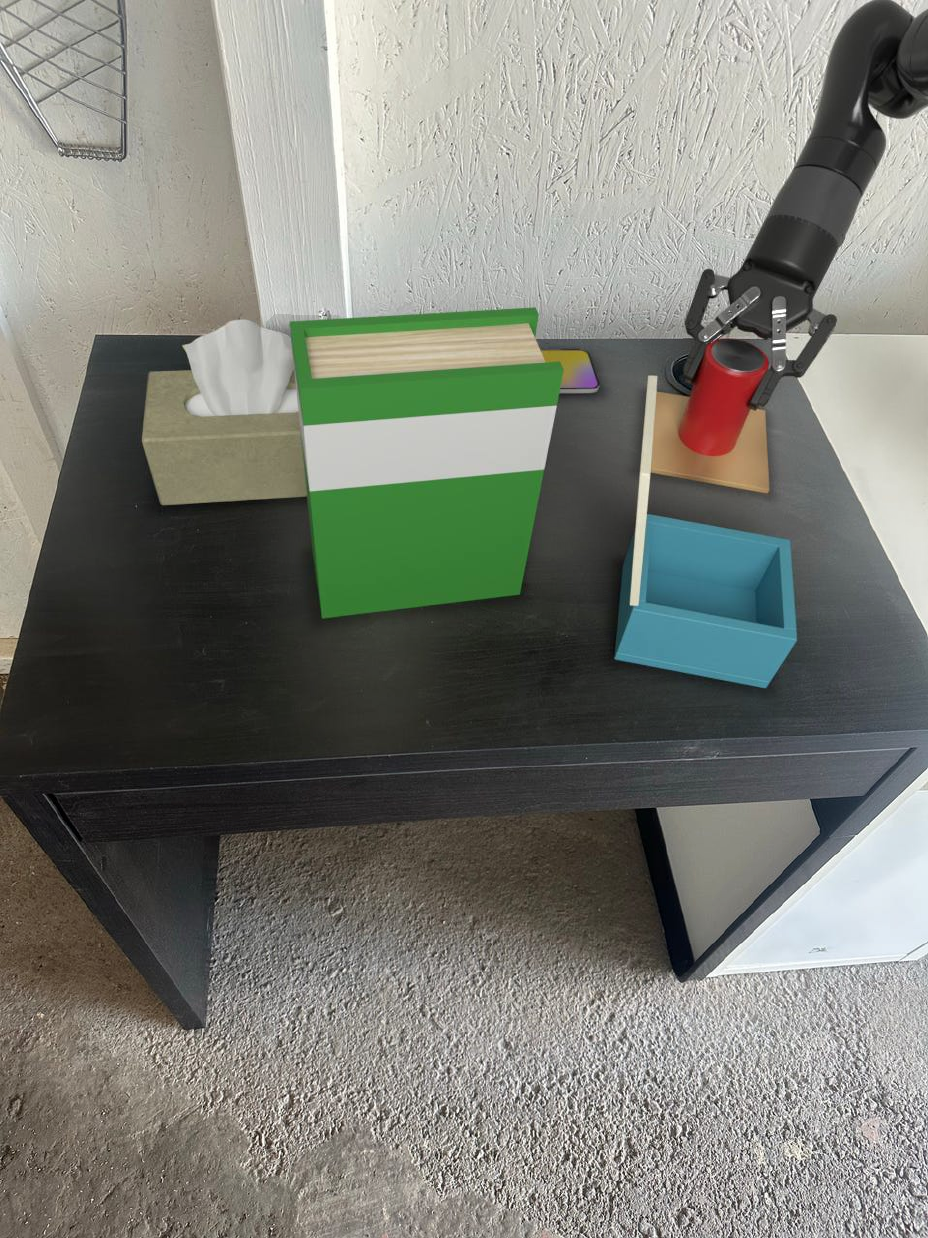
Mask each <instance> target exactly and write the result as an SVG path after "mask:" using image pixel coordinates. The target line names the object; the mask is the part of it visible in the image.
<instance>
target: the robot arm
mask: <svg viewBox="0 0 928 1238" xmlns="http://www.w3.org/2000/svg"><path fill="white" fill-rule="evenodd" d="M870 107H871V108H872V109H874V110H875V111H876V112H877V113H879V114H881V115H883V116H885V117H888V118H891V119H896V120H906V119H909V118H912V117H913V116H915V115H917V114H918V113H920V112H921V111H923V110H924V109H926V108H928V8H926V9H925V10H923V11H921V13H919V14H918V15H917V16H916V17H915V16H914V15H913V14H911V13H910V12H909V11H907V10H906V9H905V8H904V7H903V6H902V5H900V4H899V3H898V2H896V1H895V0H870V1H868V2H866V3H865V4H863V5H862V6H860V7H859V8H858V9H856V10H855V11H854V12H853V13H851V15H850V16H849V18H848V19H846V21H845V23H843V25H842V26H841V28H840V30H839V32H838V33H837V35H836V38H835V39H834V42H833V44H832V47H831V49H830V52H829V56H828V58H827V61H826V66H825V70H824V75H823V79H822V85H821V90H820V94H819V99H818V103H817V107H816V111H815V115H814V119H813V123H812V128H811V131H810V133H809V135H808V137H807V140H806V142H805V143H804V146H803V148H802V149H801V152H800V153H799V156H798V158H797V160H796V162H795V164H794V166H793V168H792V170H791V172H790V174H789V176H788V177H787V179H786V181H785V182H784V183H783V185H782V186H781V188H780V190H779V191H778V193H777V195H776V196H775V198H774V201H773V203H772V205H771V207H770V209H769V210H768V213H767V214H766V216H765V218H764V220H763V222H762V224H761V226H760V229H759V231H758V232H757V235H756V237H755V239H754V241H753V243H752V245H751V247H750V248H749V251H748V253H747V255H746V257H745V259H744V261H743V262H742V265H741V267H740V268H739V269H738V271H736V273H734V274H733V275H732V276H729V277H728V276H724V275H719V274H715V271H714V270H713V269H712V268H706V269H704V270H703V271H702V273H701V276H700V277H699V281H698V284H697V286H696V289H695V292H694V295H693V297H692V301H691V303H690V306H689V309H688V312H687V314H686V317H685V321H684V328H685V332H686V335H688V336H690V337H691V338H693V339H694V344H693V346H692V348H691V350H690V353H689V354H688V356H687V359H686V361H685V362H684V364H683V368H682V372H683V375H684V376H685V377H684V380H685V383H687V384H689V385H694V382H695V379H696V376H697V374H698V371H699V368H700V365H701V362H702V359H703V356H704V353H705V350H706V348H707V346H708V345H709V344H710V343H712V342H713V341H715V340H719V339H722V337H723V336H727V335H728V334H729V333H730V332H732V331H733V330H734V329H735V328H736V327H737V330H739V331H741V332H744V333H753V334H754V335H756V336H757V337H758V338H760V339H763V340H765V341H768V340H771V366H770V367H769V368H768V369H767V371H766V373H765V375H764V376H763V378H762V380H761V382H760V384H759V386H758V388H757V390H756V392H755V394H754V396H753V398H752V400H751V402H750V404H749V409H752V410H754V411H756V409H759V407H761V408H764V407H766V406H767V404H769V401H770V400H771V397H772V396H773V394H774V392H775V389H776V387H777V386H778V384H779V382H780V380H781V379H782V378H785V377H794V378H795V379H800V378H803V377H804V375H805V374H806V373H807V371H808V369H809V368H810V367H811V365H812V364H813V362H814V360H815V359H816V358H817V356H818V355H819V353H820V352H821V350H822V349H823V347H824V346H825V344H826V343H827V342H828V340H829V338H830V337H831V335H832V334H833V333H834V331H835V328H836V325H837V323H838V318H837V316H836V315H835V314H832V313H829V314H824V313H822V312H821V311H819V310H817V309H815V308H814V303H813V302H814V299H815V295H816V294H817V292H818V290H819V288H820V286H821V284H822V282H823V280H824V278H825V276H826V273H827V272H828V271H829V268H830V266H831V264H832V263H833V260H834V258H835V256H836V255H837V253H838V250H839V249H840V248H841V247H842V245H843V243H844V242H845V240H846V236H847V234H848V231H849V229H850V227H851V225H852V223H853V221H854V218H855V216H856V213H857V210H858V208H859V207H858V206H859V204H860V202H861V200H862V198H863V197H864V194H865V192H866V190H867V188H868V187H869V184H870V182H871V180H872V179H873V177H874V175H875V172H876V171H877V169H878V166H879V164H880V163H881V161H882V158H883V157H884V155H885V151H886V148H887V137H886V133H885V131H884V130H883V128H882V127H881V125H880V123H879V122H878V121H877V119H876V118H875V116H874V115H873V113H872V111H871V109H870ZM722 291H727V297H728V302H729V306H727V307H726V308H725V309H724V310H722V311H721V312H720V313H718V315H717V316H716V317H715V318H714V319H713V320H712V321H711V322H709V324H707V325H706V326H704V325H702V321H703V319H704V316H705V313H706V311H707V308H708V306H709V302H710V300H711V299H712V300H713V299H716V298H717V297H719V295H720V293H721V292H722ZM806 321H808V323H809V326H808V330H807V333H808V335H809V336H810V338H809V339H808V341H807V343H806V344H805V346H804V347H803V349H802V350H801V352H800V354H799V355H798V356H797V357H796V359H787V346H786V345H787V332H789V331H790V330H792V329H794V328H796V327H797V326H799V325H801V324H803V323H804V322H806Z"/></svg>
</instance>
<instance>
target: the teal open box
mask: <svg viewBox="0 0 928 1238" xmlns="http://www.w3.org/2000/svg"><path fill="white" fill-rule="evenodd" d="M634 541H635V530H634V531H633V534H632V536H631V540H630V543H629V546H628V549H627V552H626V554H625V555H626V556H625V558H624V561H623V565H622V572H621V580H620V581H621V583H620V591H619V592H620V593H619V604H618V615H617V625H616V636H615V648H614V657H613V658H614V660H616V661H621V662H627V663H631V664H637V665H641V666H642V665H643V666H647V667H653V668H658V669H663V670H668V671H673V672H678V673H683V674H687V675H688V674H689V675H692V676H693V675H694V676H700V677H704V678H710V679H714V680H720V681H725V682H730V683H735V684H741V685H746V686H752V687H757V688H762V689H767V688H768V686H769V685H770V682H771V681H772V680H773V678H774V677H775V675H776V674H777V672H778V670H779V669H780V668H781V666H782V664H783V663H784V661H785V660H786V658H787V657H788V655H789V653H790V652H791V650H792V649H793V647H795V644H796V643H797V642H798V635H797V634H798V633H797V632H798V631H797V617H796V604H795V603H796V602H795V589H794V577H793V575H794V574H793V563H792V547H791V545H792V544H791V539H787V538H782V537H776V536H771V535H765V534H760V533H755V532H748V531H743V530H737V529H732V528H726V527H721V526H716V525H711V524H703V523H700V522H694V521H689V520H683V519H678V518H673V517H667V516H661V515H655V514H650V513H647V518H646V529H645V540H644V551H643V562H642V573H641V584H640V595H639V605H638V606H632V605H630V592H631V579H632V567H633V554H634Z"/></svg>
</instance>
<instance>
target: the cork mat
mask: <svg viewBox="0 0 928 1238" xmlns="http://www.w3.org/2000/svg"><path fill="white" fill-rule="evenodd" d="M689 397H690V396H687V395H680V394H676V393H675V394H674V393H669V392H663V391H656V405H655V419H654V433H653V446H652V460H651V474H656V475H662V476H668V477H673V478H679V479H685V480H690V481H695V482H701V483H705V484H712V485H717V486H722V487H728V488H729V487H730V488H732V489H733V488H734V489H739V490H746V491H749V492H750V491H751V492H756V493H761V494H768V493H769V492H770V476H769V475H770V473H769V455H768V436H767V419H766V417H767V415H766V410H765V409H760V408H757V409H756V411H754V410H752V409H751V410H750V412H749V414H748V417H747V419H746V421H745V424H744V426H743V429H742V431H741V433H740V436H739V438H738V440H737V443H736V445H735V447H734V449H733V450H732V451H731V452H729V453H727V454H725V455H721V456H707V455H702V454H699V453H697V452H694V451H692V450H691V449H689V448H688V447H687V446H685V445H684V444H683V442H682V441H681V440H680V438H679V435H678V429H679V426H680V423H681V420H682V417H683V414H684V411H685V408H686V405H687V403H688V400H689Z"/></svg>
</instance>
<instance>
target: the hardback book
mask: <svg viewBox="0 0 928 1238" xmlns="http://www.w3.org/2000/svg"><path fill="white" fill-rule="evenodd" d="M539 317H540V314H539V311H538V310H537V307H518V308H517V307H516V308H500V309H485V310H482V309H481V310H467V311H465V310H463V311H448V312H432V313H431V312H430V313H413V314H397V315H380V316H379V315H378V316H362V317H361V316H359V317H345V318H328V319H327V318H326V319H309V320H308V319H307V320H293V321H292V320H291V321H289V328H290V329H289V330H290V331H289V332H290V337H291V341H292V351H293V361H294V371H295V381H296V391H297V401H298V411H299V421H300V431H301V441H302V451H303V461H304V471H305V481H306V491H307V496H306V500H307V509H308V510H307V511H308V521H309V531H310V539H311V549H312V559H313V565H314V572H315V579H316V587H317V593H318V600H319V608H320V614H321V619H329V618H339V617H345V616H356V615H362V614H363V615H364V614H371V613H378V612H387V611H395V610H396V611H397V610H404V609H411V608H421V607H429V606H437V605H445V604H455V603H461V602H471V601H477V600H486V599H495V598H502V597H510V596H518V595H521V590H522V585H523V580H524V577H525V576H524V574H525V570H526V565H527V560H528V555H529V550H530V545H531V540H532V534H533V529H534V524H535V519H536V514H537V509H538V505H539V499H540V493H541V489H542V483H543V478H544V473H545V468H546V463H547V459H548V458H547V457H548V452H549V447H550V442H551V437H552V432H553V427H554V422H555V416H556V412H557V407H558V402H559V397H560V393H559V392H560V387H561V382H562V377H563V372H564V369H563V367H562V364H561V362H560V361H559V362H545V360H544V357H543V355H542V353H541V350H540V349H541V348H540V346H539V343H538V341H537V339H536V336H537V330H538V329H537V328H538V322H539Z"/></svg>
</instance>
